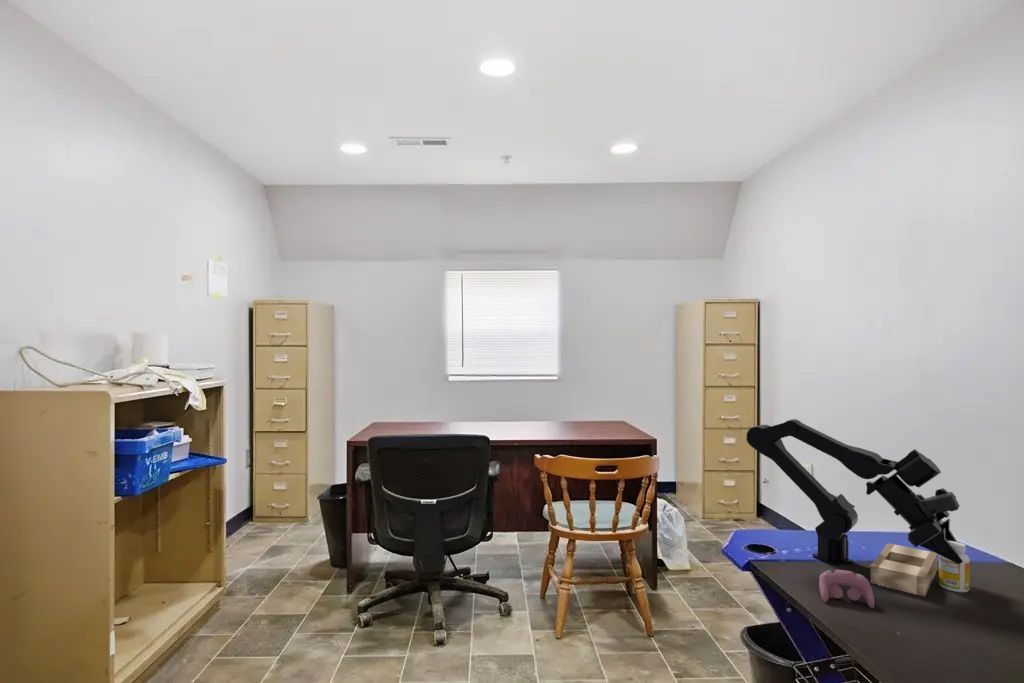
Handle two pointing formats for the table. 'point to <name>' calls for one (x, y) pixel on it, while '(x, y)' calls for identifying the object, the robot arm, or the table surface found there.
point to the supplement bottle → (955, 570)
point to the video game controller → (848, 578)
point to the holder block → (904, 569)
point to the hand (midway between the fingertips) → (962, 559)
